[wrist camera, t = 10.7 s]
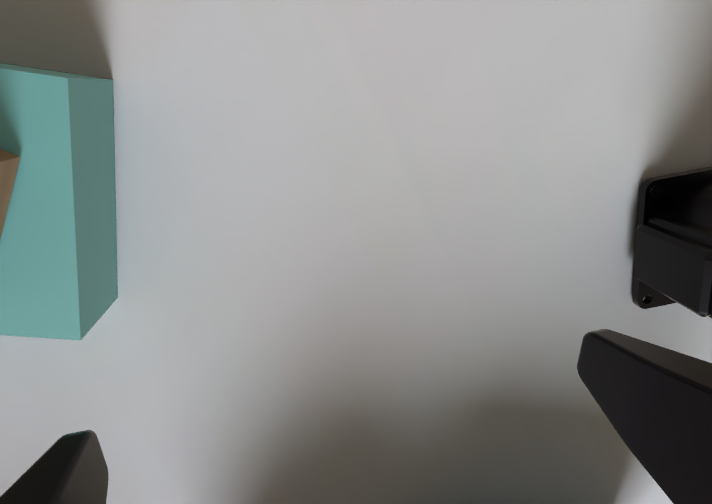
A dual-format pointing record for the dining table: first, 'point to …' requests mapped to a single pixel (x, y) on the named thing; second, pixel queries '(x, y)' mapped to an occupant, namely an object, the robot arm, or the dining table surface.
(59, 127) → the teal base block
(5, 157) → the walnut block
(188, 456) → the dining table surface
